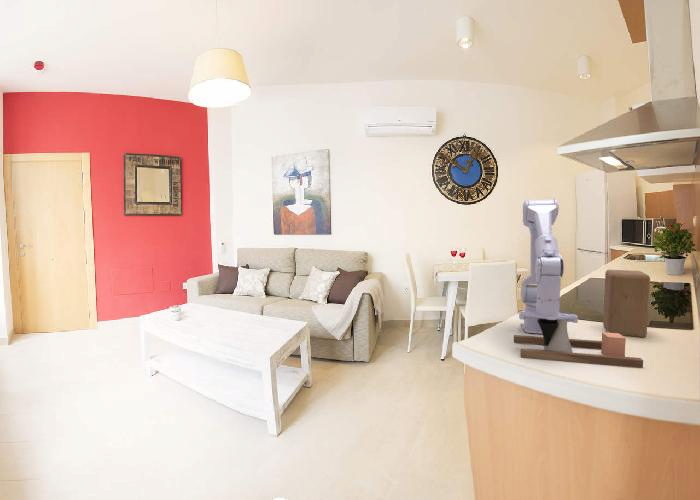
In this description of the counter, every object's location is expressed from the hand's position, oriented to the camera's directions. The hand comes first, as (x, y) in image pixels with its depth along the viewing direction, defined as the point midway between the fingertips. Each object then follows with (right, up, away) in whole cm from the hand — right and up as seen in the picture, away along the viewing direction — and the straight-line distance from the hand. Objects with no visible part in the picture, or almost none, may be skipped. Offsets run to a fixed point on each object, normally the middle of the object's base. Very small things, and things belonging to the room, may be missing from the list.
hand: (546, 345), depth 99 cm
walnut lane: (+6, -2, -1) cm, 7 cm away
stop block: (+16, -2, -4) cm, 17 cm away
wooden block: (+34, 0, +15) cm, 37 cm away
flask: (+3, -2, -1) cm, 4 cm away
